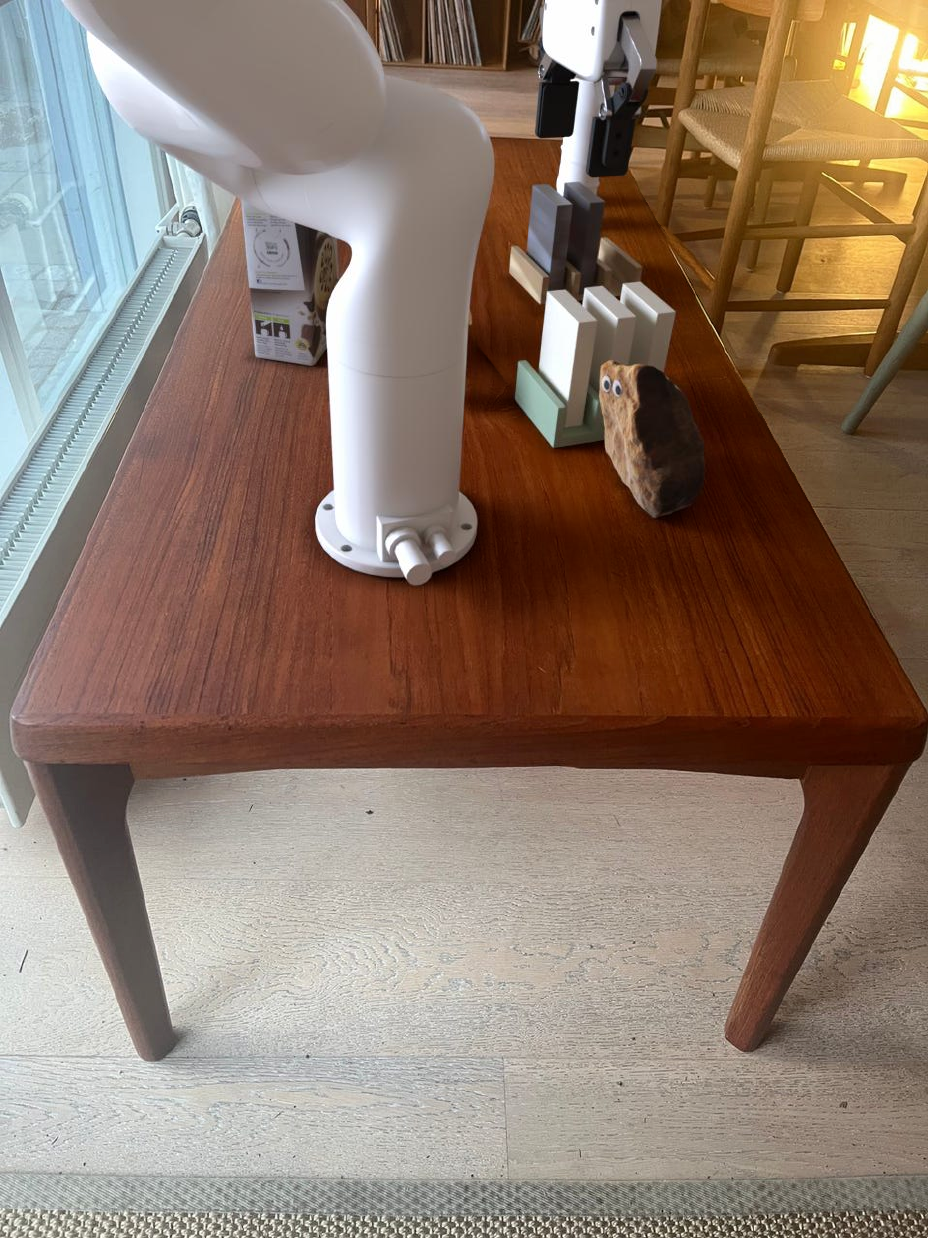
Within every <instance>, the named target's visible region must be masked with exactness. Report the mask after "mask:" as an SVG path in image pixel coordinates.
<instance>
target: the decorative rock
mask: <svg viewBox="0 0 928 1238" xmlns="http://www.w3.org/2000/svg"><path fill="white" fill-rule="evenodd" d="M665 375H666V374H665V372H662V371H660V370H658V369H657V368H655V367H654V366H648V365H643V364H635V365H632V366H627V365H625V364H624V365H623V364H620V363H617V362H616V361H614V360H609V361H608V362H606V363H604V364H603V365H602V366H601V372H600V394H599V398H600V404H601V409H602V414H603V416H604V426H605V440H604V448H605V452H606V454H607V455H608V456H609V458H610V460H611V462H612V465H613V467H614V469H615V470H616V471H617V474H618V476H619V477H620V479H621V482H622V483H623V484H624V485H625V486H627V487H628V488H629V490H630V492H631V493H632V496H633V498H634V499H635V501H636V502H637V504H638V505H639V507H641V508H642V510H644V511H645V512H646V513H647V514H648V515H650V516H651V517H652V518H654V519H657V518H660V517H662V516H668V515H670V514H672V513H674V512H677V511H680V510H683V509H685V508H687V507H691V506H692V505H693V504H694V503H695V502H696V501H697V500H698V497H697V496H698V495H699V494H701V493H702V490H703V483H704V479H705V471H706V460H705V457H704V453H705V449H706V446H705V441H704V439H703V437H702V436H701V433H700V429H699V428H698V426H697V424H696V422H695V421H694V415H693V411H692V410H691V407H690V401H689V399H688V397H687V396H686V394H685V392H684V391H682V389H680V388H679V387H678V388H679V389H678V388H676V387H675V385H676V384H675V382H674V381H673V380H672V379H671V378H669V379H667V378H666V376H667V375H666V376H665Z"/></svg>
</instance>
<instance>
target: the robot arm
mask: <svg viewBox="0 0 928 1238" xmlns="http://www.w3.org/2000/svg"><path fill="white" fill-rule="evenodd" d="M60 1H61V2H62V4H63V5H64V7H65V8H66V9H67V11H68V12H69V14H71V16H72V17H73V18H74V19H75V20H76V21H77V22H78V23H79V24H80V25H81V26H82V27H83V28H84V29H85V30H86V40H87V48H88V54H89V57H90V62H91V66H92V68H93V72H94V74H95V77H96V79H97V82H98V84H99V86H100V88H101V90H102V92H103V94H104V96H105V97H106V99H107V101H108V102H109V104H110V105H111V107H112V108H113V109H114V111H115V112H116V113H117V115H118V116H119V117H120V118H121V119H122V120H123V122H125V123H126V124H127V126H128V127H129V128H131V130H132V131H134V132H135V133H137V135H139V136H140V137H142V138H143V139H144V140H146V141H148V142H149V143H150V144H152V145H153V146H155V147H156V148H158V149H159V150H160V151H162V152H164V153H165V154H167V155H169V156H170V157H172V158H173V159H175V160H176V161H178V162H179V163H181V164H183V165H184V166H186V167H187V168H189V169H191V170H193V172H196V173H197V174H199V175H200V176H202V177H203V178H205V179H206V180H207V181H210V182H212V183H213V184H214V185H217V186H218V187H219V188H221V189H223V190H224V191H226V192H227V193H229V194H231V195H233V196H234V197H236V198H237V199H239V200H240V201H241V200H243V201H244V202H246V203H248V204H250V205H252V206H254V207H256V208H258V209H260V210H262V211H264V212H266V213H269V214H271V215H274V216H277V217H279V218H282V219H285V220H289V221H292V222H295V223H298V224H301V225H304V226H307V227H310V228H313V229H316V230H319V231H322V232H325V233H327V234H329V235H331V236H333V237H335V238H337V240H340V241H343V242H345V243H346V244H348V245H349V246H350V249H351V259H350V262H349V265H348V266H347V268H346V270H345V271H344V273H343V274H342V276H341V277H340V278H339V282H338V283H337V285H336V286H335V288H334V290H333V292H332V294H331V297H330V299H329V303H328V307H327V315H326V337H327V348H326V350H327V352H326V353H327V370H328V371H327V372H328V373H327V374H328V392H329V412H330V433H331V434H330V435H331V452H332V453H331V454H332V455H331V456H332V474H333V475H332V476H333V490H331V491H330V492H329V493H328V494H327V495H326V496H325V497H324V498H323V499H322V500H321V502H320V503H319V505H318V507H317V509H316V514H315V521H314V522H315V533H316V536H317V540H318V542H319V544H320V546H321V547H322V549H323V550H324V551H325V553H327V554H328V555H329V556H330V558H332V559H334V560H335V561H336V562H337V563H339V564H341V565H343V566H345V567H347V568H349V569H352V570H353V571H357V572H359V573H364V574H367V575H370V576H378V577H384V578H405V579H406V581H407V583H408V584H409V585H412V586H422V585H423V584H426V583H427V582H428V581H429V580H430V579H431V578H432V575H433V573H435V572H438V571H441V570H443V569H446V568H448V567H449V566H452V565H453V564H455V563H456V562H458V561H460V560H461V559H463V557H464V556H465V555H467V553H468V552H469V551H470V549H472V547H473V545H474V543H475V540H476V539H477V538H476V537H477V535H478V533H477V532H478V531H477V530H478V516H477V511H476V509H475V508H474V505H473V504H472V502H471V501H470V500H469V499H468V497H467V496H466V495H464V494H463V493H462V492H461V491H460V487H461V485H460V483H461V465H462V448H463V431H464V429H463V428H464V411H465V393H466V377H467V376H466V375H467V360H468V359H467V357H468V340H469V339H468V337H469V325H468V322H469V323H470V321H469V309H470V306H471V297H472V288H473V279H474V272H475V265H476V260H477V256H478V255H477V254H478V250H479V245H480V242H481V241H480V240H481V237H482V233H483V228H484V224H485V221H486V216H487V212H488V209H489V204H490V200H491V196H492V191H493V185H494V179H495V178H494V177H495V153H494V148H493V144H492V140H491V137H490V135H489V132H488V130H487V128H486V126H485V125H484V123H483V122H482V120H481V119H480V117H479V116H478V115H477V113H475V111H473V110H472V108H470V107H469V106H468V105H467V104H465V103H464V102H463V101H461V100H460V99H458V98H456V97H455V96H454V95H451V94H449V93H447V92H445V91H443V90H441V89H439V88H437V87H434V86H431V85H427V84H425V83H422V82H417V81H413V80H410V79H406V78H402V77H401V78H400V77H397V76H393V75H389V74H385V71H384V66H383V62H382V60H381V58H380V55H379V52H378V50H377V47H376V45H375V43H374V41H373V38H371V35H370V34H369V32H368V31H367V30H366V28H365V25H363V23H362V21H361V20H360V18H359V17H358V16H357V14H356V13H355V12H354V11H353V9H351V8H350V6H349V5H348V4H347V3H346V2H345V1H344V0H60ZM662 3H663V0H544V4H543V5H541V7H540V9H539V25H540V26H539V27H540V37H541V38H540V40H539V44H538V50H539V52H540V58H541V60H540V63H539V66H538V72H537V73H538V79H539V80H540V81H539V86H538V97H537V106H536V117H535V127H534V134H535V136H536V137H537V138H539V139H559V138H561V139H562V138H563V137H570V136H572V135H573V132H574V124H575V116H576V108H577V99H578V91H579V83H580V82H578V81H571V80H573V79H574V78H575V76H576V75H579V76H580V77H582V78H584V79H586V80H587V81H590V82H594V87H595V93H596V99H597V106H598V112H599V116H598V117H593V119H592V126H591V134H590V142H589V149H588V157H587V165H586V173H587V175H589V176H590V177H592V178H594V177H599V178H607V177H609V178H611V177H624V176H625V175H626V174H627V173H628V170H629V165H630V159H631V152H632V147H633V139H634V133H635V126H636V120H638V119H639V118H640V116H641V113H642V105H643V104H644V102H645V101H646V100H647V98H648V95H649V87H650V85H651V82H652V80H653V79H654V75H655V73H656V71H657V67H658V59H657V57H656V51H657V45H658V44H657V43H658V36H659V30H660V29H659V28H660V19H661V11H662ZM609 85H615V86H618V87H617V89H615V91H614V95H613V96H612V97H611V92H610V86H609ZM470 310H471V309H470Z"/></svg>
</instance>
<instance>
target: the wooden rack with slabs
mask: <svg viewBox="0 0 928 1238" xmlns="http://www.w3.org/2000/svg"><path fill="white" fill-rule="evenodd" d="M531 189H532V190H531V200H530V201H531V202H530V210H529V211H530V212H529V221H528V232H527V243H526V253H525V251H524V250H523V249H522V248H520V246H518V245H511V247H510V259H509V272H508V273H509V274H510V275H511V276H512V277H513V278H514V279H515V280H516V281H517V283H519V284H520V286H522V287H523V289H524V290H525V291H527V293H528V294H529V295H530V296H531V297H532V298H533V299H534V300H535V301H536V302H537V303H538V304H539V305H546V299H547V292H548V291H556V290H566V291H567V292H569V293H570V294H571V295H572V296H573V297H574V298H575V299H576V300H577V301H583V298H584V290H585V288H587V287H596V286H603V287H604V288H605V289H607V290H608V291H609V292H610V293H611V294H612V295H613V296H614V297H617V296H619V297H621V292H622V286H623V283H632V282H641V279H642V273H643V266H642V265H641V264H640V263H639V262H637V261H636V260H635V259H634V258H632V256H630V255H629V253H628V254H627V253H626V252H625V251H624V250H623V249H622V248H620V247H619V246H618V245H617V244H616V243H614V242H613V240H611V239H610V238H608V237H607V236H606V237H605V236H604V237H601V236H602V235H601V234H602V228H603V221H604V214H605V213H604V212H605V207H606V206H605V205H606V201H605V200H604V199H602V198H601V197H600V196H599V195H597V194H594V193H593V192H592V191H591V190H589V189H588V188H587V187H585V186H584V185H583V184H581V183H580V182H567V183H564V192H563V196H562V195H561V194H559V193H558V192H557V189H555V188H554V187H552V186H551V185H549V184H548V183H541V184H532V188H531Z"/></svg>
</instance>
